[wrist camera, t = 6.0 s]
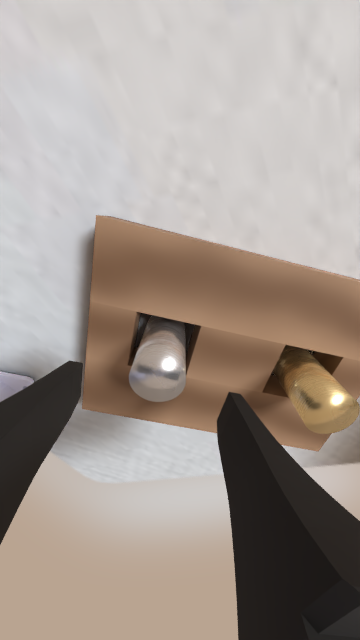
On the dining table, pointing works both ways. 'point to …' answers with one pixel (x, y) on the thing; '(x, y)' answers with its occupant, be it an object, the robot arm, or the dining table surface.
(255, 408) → the pin board
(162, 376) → the steel pin
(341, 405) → the brass pin
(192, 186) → the dining table surface
